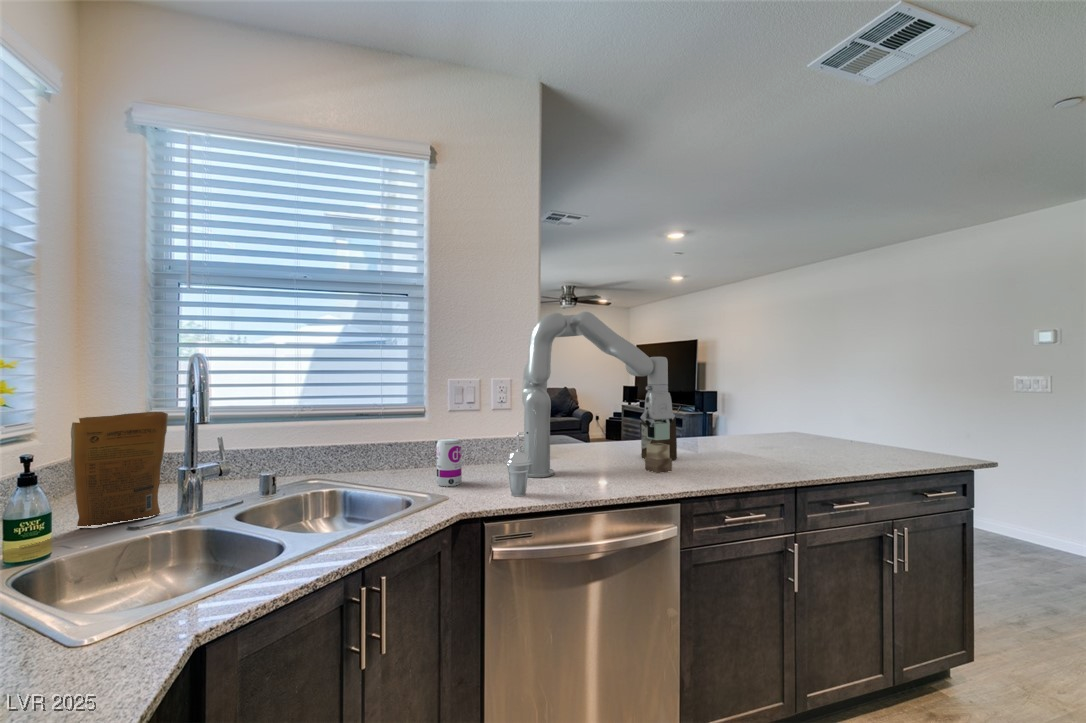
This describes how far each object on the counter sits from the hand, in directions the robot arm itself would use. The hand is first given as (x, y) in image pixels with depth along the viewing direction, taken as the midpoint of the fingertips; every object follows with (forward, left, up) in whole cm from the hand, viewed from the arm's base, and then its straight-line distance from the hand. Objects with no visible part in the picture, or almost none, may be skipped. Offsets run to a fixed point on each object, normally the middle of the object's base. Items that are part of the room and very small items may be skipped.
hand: (658, 436), depth 185 cm
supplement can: (-77, +13, -13) cm, 79 cm away
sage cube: (0, 0, -1) cm, 1 cm away
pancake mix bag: (-163, +9, -13) cm, 164 cm away
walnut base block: (0, 0, -13) cm, 13 cm away
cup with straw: (-61, -10, -13) cm, 63 cm away
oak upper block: (0, 0, -8) cm, 8 cm away
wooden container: (+16, +20, -13) cm, 29 cm away
